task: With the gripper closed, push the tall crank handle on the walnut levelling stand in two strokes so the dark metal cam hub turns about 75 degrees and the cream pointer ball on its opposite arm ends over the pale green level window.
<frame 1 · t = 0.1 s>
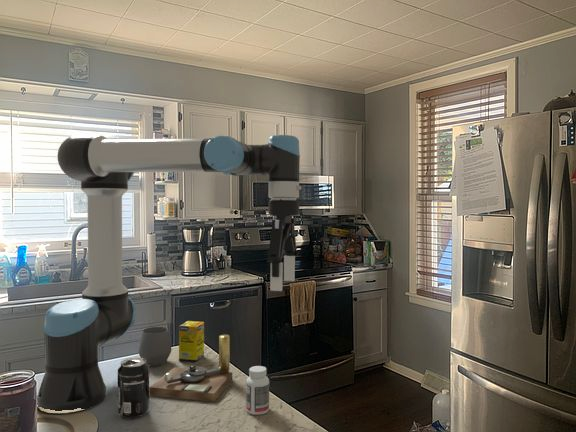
hand: (283, 285, 113), 28 cm above the countertop, fingers open, 13 cm apart
crank handle: (197, 358, 120), point 7 cm above the countertop, hinge at 0.0°
supplement box: (191, 359, 141), on the countertop
cup: (155, 363, 137), on the countertop
stand: (192, 387, 120), on the countertop
beverage can: (133, 414, 105), on the countertop
pill bottle: (257, 411, 107), on the countertop
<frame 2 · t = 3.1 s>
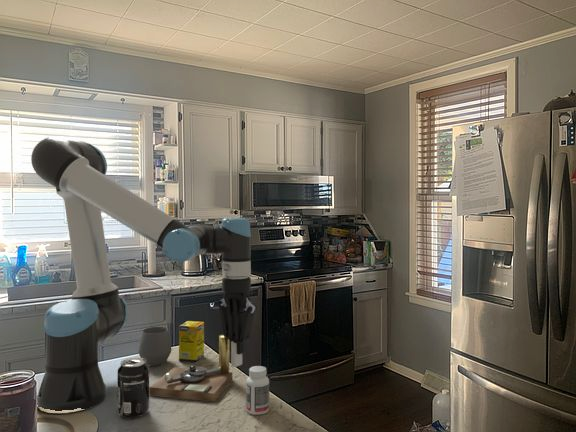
hand: (236, 365, 122), 5 cm above the countertop, fingers closed
crank handle: (197, 358, 120), point 7 cm above the countertop, hinge at 0.3°, touching gripper
everything else where it was.
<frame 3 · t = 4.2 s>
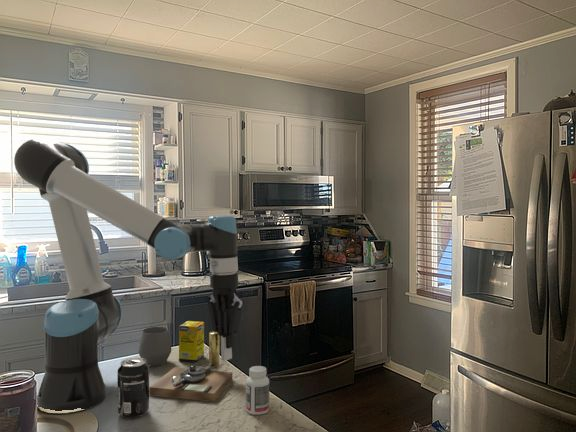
hand: (226, 359, 125), 6 cm above the countertop, fingers closed
crank handle: (196, 358, 121), point 7 cm above the countertop, hinge at 27.9°, touching gripper
everything else where it was.
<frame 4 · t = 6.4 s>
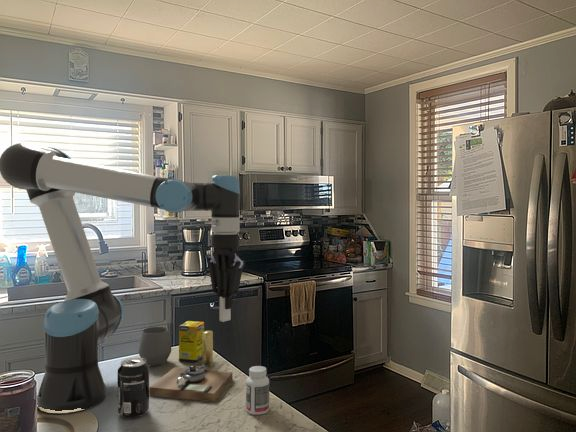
hand: (225, 320, 124), 16 cm above the countertop, fingers closed
crank handle: (195, 358, 121), point 7 cm above the countertop, hinge at 41.5°
everything else where it was.
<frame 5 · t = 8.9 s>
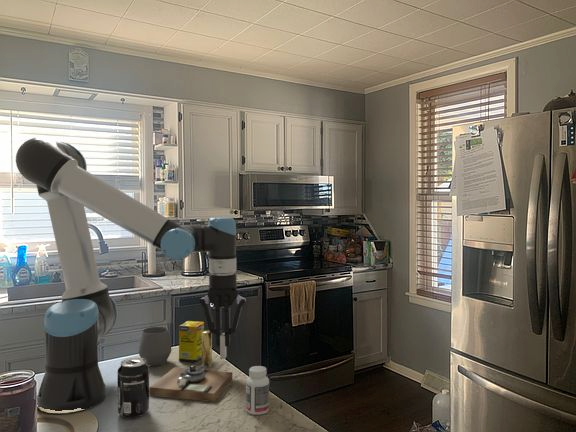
hand: (223, 357, 128), 5 cm above the countertop, fingers closed
crank handle: (195, 358, 121), point 7 cm above the countertop, hinge at 43.4°, touching gripper
everything else where it was.
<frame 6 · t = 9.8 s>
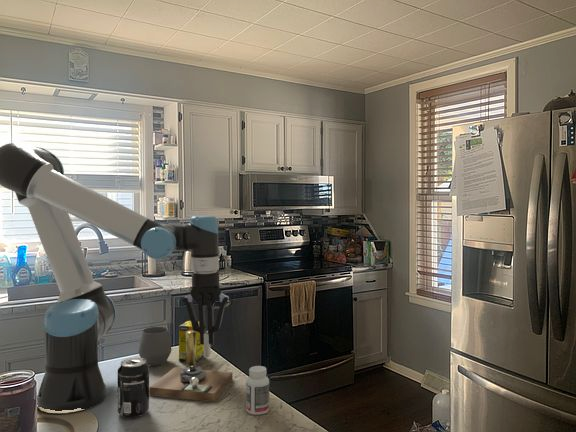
hand: (207, 355, 128), 5 cm above the countertop, fingers closed
crank handle: (192, 358, 121), point 7 cm above the countertop, hinge at 71.7°, touching gripper
everything else where it was.
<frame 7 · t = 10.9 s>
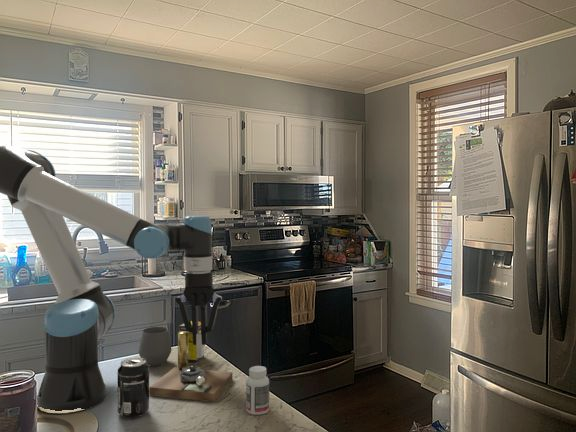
hand: (200, 356, 128), 5 cm above the countertop, fingers closed
crank handle: (191, 358, 121), point 7 cm above the countertop, hinge at 85.3°, touching gripper
everything else where it was.
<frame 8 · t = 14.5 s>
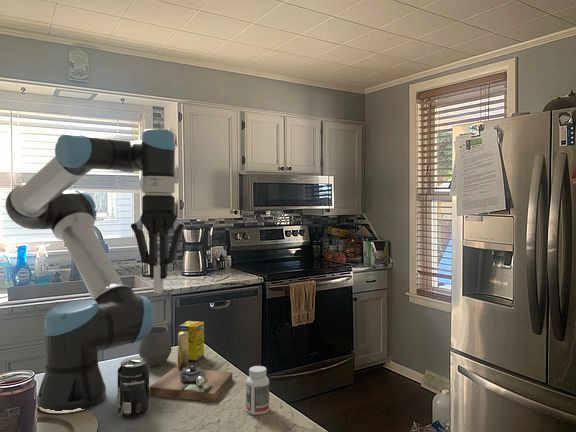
hand: (158, 292, 111), 26 cm above the countertop, fingers closed
crank handle: (191, 358, 121), point 7 cm above the countertop, hinge at 85.3°
everything else where it was.
at the end: crank handle at +85° (first picture: +0°) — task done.
